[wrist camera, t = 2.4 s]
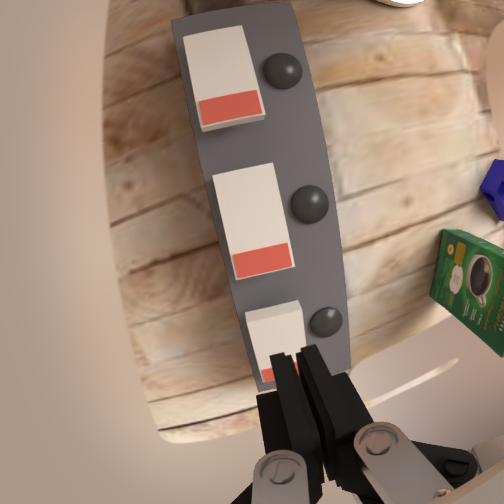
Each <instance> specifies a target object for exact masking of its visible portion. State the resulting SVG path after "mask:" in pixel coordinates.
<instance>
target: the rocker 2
mask: <svg viewBox="0 0 504 504" xmlns="http://www.w3.org/2000/svg"><path fill="white" fill-rule="evenodd" d="M212 176H213V181H214V185H215V190H216V194H217V199H218V203H219V208H220V212H221V217H222V221H223V226H224V230H225V235H226V239H227V243H228V248H229V252H230V256H231V261H232V265H233V269H234V273H235V278H236V280H239V279H244V278H248V277H253V276H257V275H261V274H266V273H270V272H275V271H279V270H283V269H287V268H292V267H295V264H294V258H293V254H292V249H291V244H290V239H289V234H288V229H287V224H286V220H285V215H284V210H283V206H282V201H281V196H280V192H279V187H278V183H277V178H276V174H275V170H274V165H273V163H268V164H263V165H258V166H253V167H248V168H243V169H239V170H234V171H230V172H225V173H221V174H216V175H212Z"/></svg>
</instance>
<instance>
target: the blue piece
mask: <svg viewBox="0 0 504 504" xmlns="http://www.w3.org/2000/svg"><path fill="white" fill-rule="evenodd" d="M480 189H481V191H482V192H483V194H484V195H485V197H486V198H487V200H488V201H489V203H490V204H491V206H492V207H493V209H494V211H495V212H496V214H497V215H498V217H499V219H500V220H502V221H504V160H497V159H495V160H494V162H493V164H492V166H491V168H490V169H489V171H488V173H487V175H486V177H485V179H484V181H483V183H482V184H481V186H480Z"/></svg>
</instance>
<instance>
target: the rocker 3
mask: <svg viewBox="0 0 504 504" xmlns="http://www.w3.org/2000/svg"><path fill="white" fill-rule="evenodd" d="M245 316H246V322H247V326H248V330H249V333H250V337H251V341H252V345H253V348H254V352H255V356H256V359H257V363H258V367H259V370H260V374H261V378H262V381H263V383H264V382H265V383H267V382H271V381H275V379H274V375H273V370H272V366H271V362H270V357H269V355H273V354H278V353H282V352H284V353H285V356H286V355H290V354H291V356H292V358H293V361H294V364H295V367H296V369H297V372H298V366H297V360H296V353H298V352H301V351H300V348H302V347H305V346H306V339H305V330H304V321H303V313H302V308H301V306H300V303H299V301H298V300H296V301H292V302H288V303H284V304H279V305H275V306H271V307H266V308H262V309H258V310H253V311H249V312H245ZM298 375H299V372H298Z"/></svg>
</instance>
